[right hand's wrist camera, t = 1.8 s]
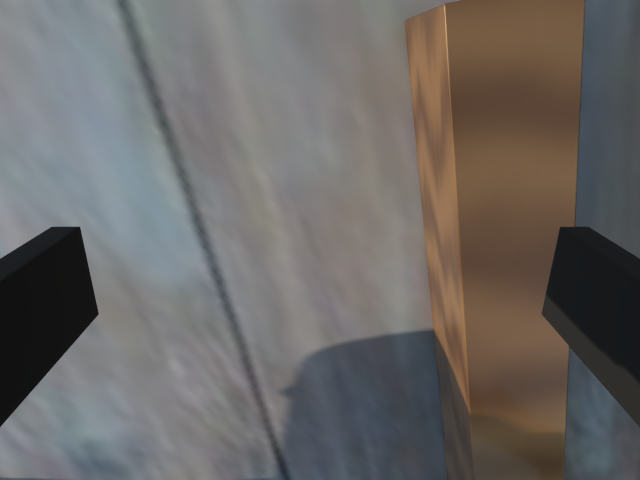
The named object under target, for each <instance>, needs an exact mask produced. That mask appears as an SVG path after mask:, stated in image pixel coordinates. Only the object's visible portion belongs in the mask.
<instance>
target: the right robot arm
mask: <svg viewBox="0 0 640 480" xmlns="http://www.w3.org/2000/svg"><path fill="white" fill-rule="evenodd" d="M97 315H98V309H97V304H96V300H95V295H94V290H93V286H92V281H91V276H90V272H89V267H88V262H87V258H86V253H85V248H84V244H83V239H82V234H81V230H80V227H51V228H49V229H48V230H46V231H44V232H43V233H41V234H40V235H38V236H36V237H35V238H33V239H32V240H30V241H28V242H27V243H25V244H23V245H22V246H20V247H19V248H17V249H15V250H14V251H12V252H11V253H9V254H7V255H6V256H4V257H3V258H1V259H0V427H1V425H2V424H3V423H4V422H5V421H6V420H7V419H8V417H9V416H10V415H11V414H12V413H13V412H14V411H15V409H16V408H17V407H18V406H19V405H20V404H21V403H22V401H23V400H24V399H25V398H26V397H27V396H28V394H29V393H30V392H31V391H32V390H33V389H34V388H35V386H36V385H37V384H38V383H39V382H40V381H41V380H42V378H43V377H44V376H45V375H46V374H47V373H48V372H49V370H50V369H51V368H52V367H53V366H54V365H55V364H56V362H57V361H58V360H59V359H60V358H61V357H62V356H63V354H64V353H65V352H66V351H67V350H68V349H69V348H70V346H71V345H72V344H73V343H74V342H75V341H76V340H77V338H78V337H79V336H80V335H81V334H82V333H83V331H84V330H85V329H86V328H87V327H88V326H89V325H90V323H91V322H92V321H93V320H94V319H95V318H96V317H97ZM542 315H543V317H544V318H545V319H546V320H547V321H548V322H549V323H550V325H551V326H552V327H553V328H554V329H555V330H556V331H557V333H558V334H559V335H560V336H561V337H562V338H563V340H564V341H565V342H566V343H567V344H568V345H569V346H570V348H571V349H572V350H573V351H574V352H575V353H576V354H577V356H578V357H579V358H580V359H581V360H582V361H583V362H584V364H585V365H586V366H587V367H588V368H589V369H590V370H591V372H592V373H593V374H594V375H595V376H596V377H597V378H598V380H599V381H600V382H601V383H602V384H603V385H604V386H605V388H606V389H607V390H608V391H609V392H610V393H611V394H612V396H613V397H614V398H615V399H616V400H617V401H618V403H619V404H620V405H621V406H622V407H623V408H624V409H625V411H626V412H627V413H628V414H629V415H630V416H631V417H632V419H633V420H634V421H635V422H636V423H637V424H638V425H639V427H640V259H639V258H637V257H636V256H634V255H633V254H631V253H629V252H628V251H626V250H625V249H623V248H621V247H620V246H618V245H617V244H615V243H613V242H612V241H610V240H608V239H607V238H605V237H604V236H602V235H600V234H599V233H597V232H596V231H594V230H592V229H591V228H589V227H560V230H559V234H558V239H557V244H556V248H555V253H554V258H553V262H552V267H551V272H550V276H549V281H548V286H547V290H546V295H545V300H544V304H543V309H542Z"/></svg>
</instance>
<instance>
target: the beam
mask: <svg viewBox="0 0 640 480" xmlns="http://www.w3.org/2000/svg"><path fill="white" fill-rule="evenodd" d="M584 17H585V0H462V1H457V2H452V3H447V4H444V5H441V6H439V7H436V8H434V9H431V10H429V11H426V12H424V13H422V14H419V15H417V16H414V17H412V18H409V19H407V20H405V28H406V39H407V50H408V61H409V71H410V82H411V93H412V104H413V114H414V125H415V136H416V146H417V157H418V168H419V179H420V189H421V200H422V211H423V221H424V232H425V243H426V254H427V264H428V275H429V286H430V297H431V307H432V318H433V329H434V339H435V350H436V361H437V372H438V382H439V393H440V404H441V414H442V425H443V436H444V447H445V457H446V468H447V479H448V480H563V479H564V457H565V435H566V413H567V391H568V369H569V347H570V346H569V345H568V344H567V343H566V342H565V341H564V340H563V338H562V337H561V336H560V335H559V334H558V333H557V331H556V330H555V329H554V328H553V327H552V326H551V325H550V323H549V322H548V321H547V320H546V319H545V318H544V317H543V315H542V309H543V304H544V300H545V295H546V290H547V286H548V281H549V276H550V272H551V267H552V262H553V258H554V253H555V248H556V244H557V239H558V234H559V230H560V227H575V215H576V193H577V171H578V149H579V127H580V105H581V83H582V61H583V39H584Z"/></svg>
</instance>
